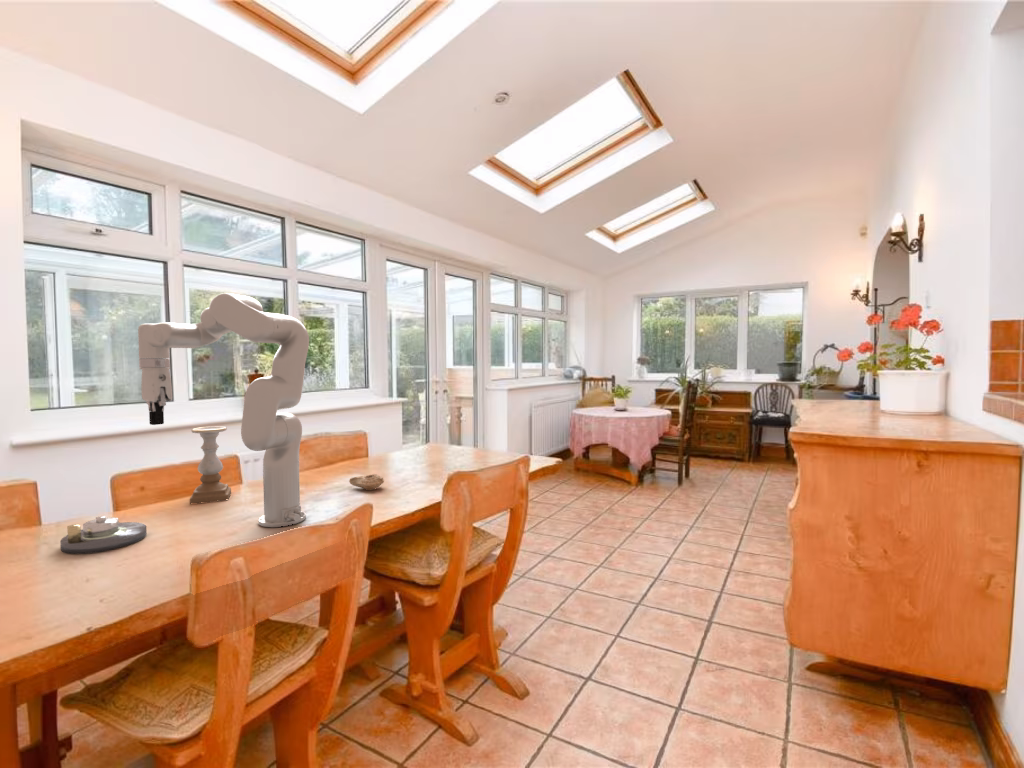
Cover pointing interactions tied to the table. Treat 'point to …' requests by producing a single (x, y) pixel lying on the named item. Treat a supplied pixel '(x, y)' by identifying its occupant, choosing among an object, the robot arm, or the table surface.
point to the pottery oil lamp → (367, 481)
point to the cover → (100, 527)
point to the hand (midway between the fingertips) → (156, 424)
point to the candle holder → (210, 468)
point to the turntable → (101, 539)
